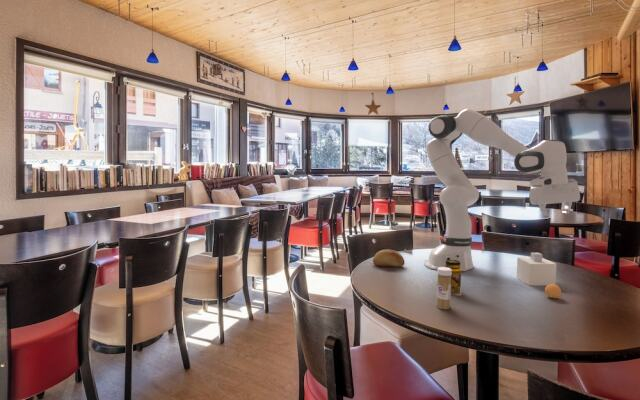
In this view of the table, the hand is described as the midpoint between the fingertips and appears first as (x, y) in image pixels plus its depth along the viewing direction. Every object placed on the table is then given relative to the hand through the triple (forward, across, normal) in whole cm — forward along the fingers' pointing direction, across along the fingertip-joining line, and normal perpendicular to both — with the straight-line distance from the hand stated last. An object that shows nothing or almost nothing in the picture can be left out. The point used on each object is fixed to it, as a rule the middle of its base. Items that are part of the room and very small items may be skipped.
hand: (555, 214), depth 147 cm
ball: (+26, +14, +13) cm, 32 cm away
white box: (+28, +7, -5) cm, 29 cm away
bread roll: (+23, +58, -38) cm, 73 cm away
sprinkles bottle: (+26, +58, +14) cm, 65 cm away
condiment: (+26, +47, 0) cm, 54 cm away
